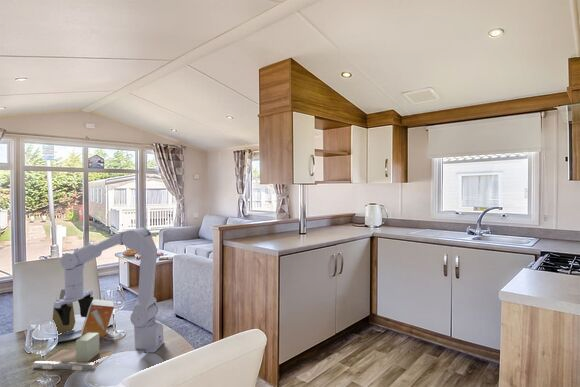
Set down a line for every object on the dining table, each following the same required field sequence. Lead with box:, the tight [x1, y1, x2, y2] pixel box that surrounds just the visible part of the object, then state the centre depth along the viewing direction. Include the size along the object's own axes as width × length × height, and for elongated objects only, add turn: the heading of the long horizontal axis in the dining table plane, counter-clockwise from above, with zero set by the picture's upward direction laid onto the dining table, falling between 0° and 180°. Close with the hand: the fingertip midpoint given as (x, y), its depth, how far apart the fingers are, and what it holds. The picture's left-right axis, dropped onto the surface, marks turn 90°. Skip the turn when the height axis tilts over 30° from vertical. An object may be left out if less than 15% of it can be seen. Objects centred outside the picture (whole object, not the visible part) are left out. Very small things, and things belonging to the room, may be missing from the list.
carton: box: [75, 333, 100, 362], centre depth 113 cm, size 4×6×7 cm, turn 176°
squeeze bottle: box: [51, 288, 76, 334], centre depth 135 cm, size 8×8×18 cm
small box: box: [80, 298, 115, 338], centre depth 130 cm, size 8×6×13 cm
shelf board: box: [33, 348, 116, 371], centre depth 111 cm, size 20×12×3 cm, turn 86°
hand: (75, 320), depth 122 cm, fingers open, 7 cm apart
